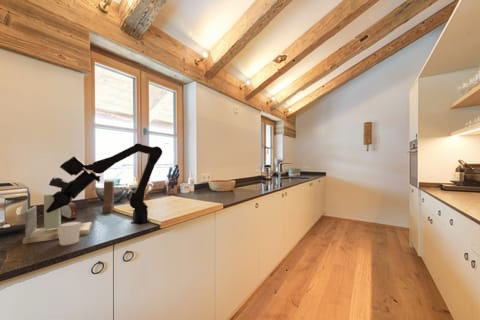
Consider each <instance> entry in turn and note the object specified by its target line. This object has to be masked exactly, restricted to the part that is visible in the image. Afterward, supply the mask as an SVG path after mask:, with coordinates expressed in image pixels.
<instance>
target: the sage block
mask: <svg viewBox="0 0 480 320" xmlns="http://www.w3.org/2000/svg"><path fill="white" fill-rule="evenodd" d="M55 193H56V192H54V193H46V194H44V195H43V218H44V219H43V220H44V221H43V223H44V225H43V228H44V230H46V229H54V228H58V227H57V226H58V225H60V224H62V213H61V208H59V209H56V210H54V211H52V212H49V213H47V212H46V210H47V209H48V208H49V206H50V205H51V204H52V203H53V201H54V198H53V197H52V196H53V195H54V194H55Z"/></svg>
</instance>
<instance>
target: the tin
mask: <svg viewBox="0 0 480 320" xmlns="http://www.w3.org/2000/svg"><path fill="white" fill-rule="evenodd" d="M61 216H62V217H63V218H66V219H69V220H72V219H76V218H77V216H78V208H77V205H76V203H74V202H72V201H71V202H70V203H69V204H68V205H67V206H63V207H61Z"/></svg>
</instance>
